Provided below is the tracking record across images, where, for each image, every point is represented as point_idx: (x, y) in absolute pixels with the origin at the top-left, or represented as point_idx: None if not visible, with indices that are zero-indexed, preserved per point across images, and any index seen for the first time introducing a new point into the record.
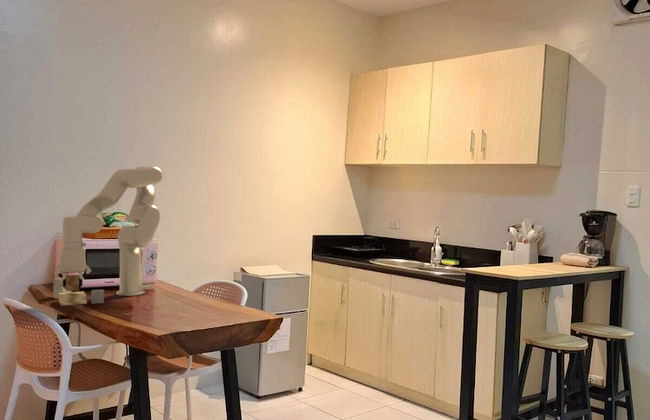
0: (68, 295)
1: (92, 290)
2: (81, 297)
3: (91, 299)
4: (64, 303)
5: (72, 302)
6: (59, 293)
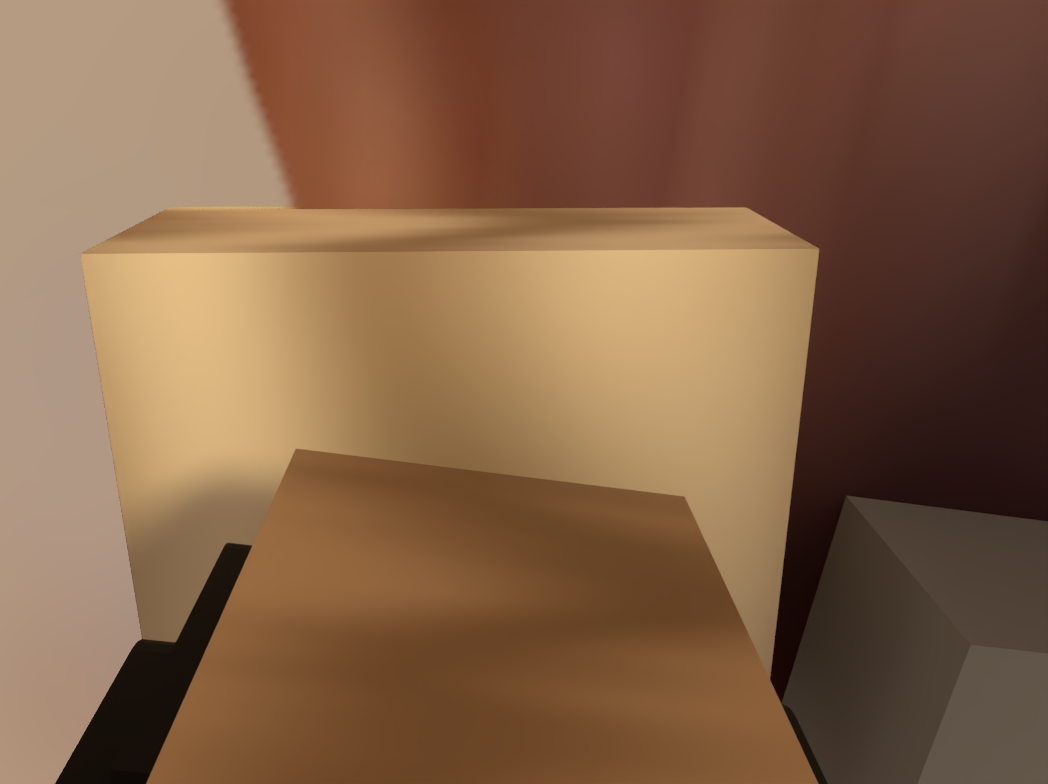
0: None
1: (969, 710)
2: None
3: None
4: None
5: None
6: (112, 348)
